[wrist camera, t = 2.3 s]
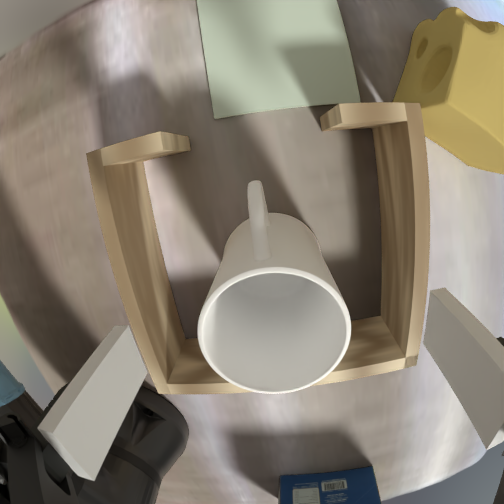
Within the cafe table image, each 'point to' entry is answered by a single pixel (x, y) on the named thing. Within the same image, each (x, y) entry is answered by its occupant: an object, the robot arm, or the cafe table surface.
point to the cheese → (459, 86)
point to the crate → (362, 331)
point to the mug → (273, 306)
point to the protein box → (330, 488)
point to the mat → (275, 55)
